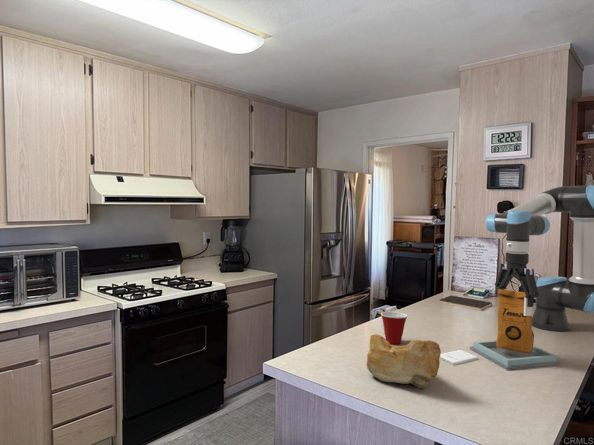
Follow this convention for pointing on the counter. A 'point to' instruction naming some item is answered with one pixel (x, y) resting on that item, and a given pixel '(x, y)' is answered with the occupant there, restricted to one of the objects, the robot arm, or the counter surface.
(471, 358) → the external hard drive
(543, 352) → the base
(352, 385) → the counter surface
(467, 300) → the hardcover book
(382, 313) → the plastic cup
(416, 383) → the rough brown rock
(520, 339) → the coffee package
